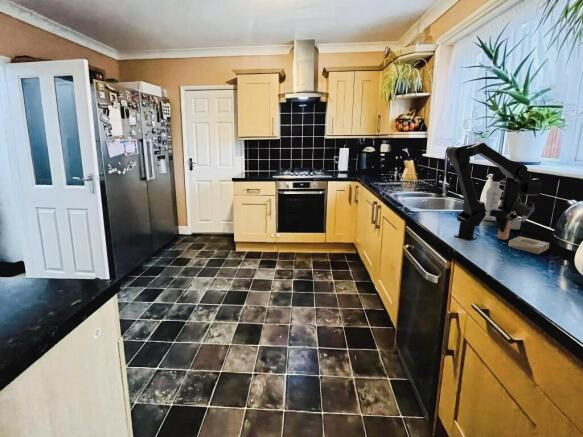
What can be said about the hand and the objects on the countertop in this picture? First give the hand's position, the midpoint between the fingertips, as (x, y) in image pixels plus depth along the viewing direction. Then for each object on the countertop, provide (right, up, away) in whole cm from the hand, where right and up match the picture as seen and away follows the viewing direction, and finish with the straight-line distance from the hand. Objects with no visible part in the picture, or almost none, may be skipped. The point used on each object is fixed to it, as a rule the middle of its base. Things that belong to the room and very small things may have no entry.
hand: (503, 231), depth 134 cm
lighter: (+17, 0, +16) cm, 23 cm away
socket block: (+2, -6, -11) cm, 12 cm away
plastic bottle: (+13, +4, +31) cm, 33 cm away
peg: (0, -3, +1) cm, 3 cm away
